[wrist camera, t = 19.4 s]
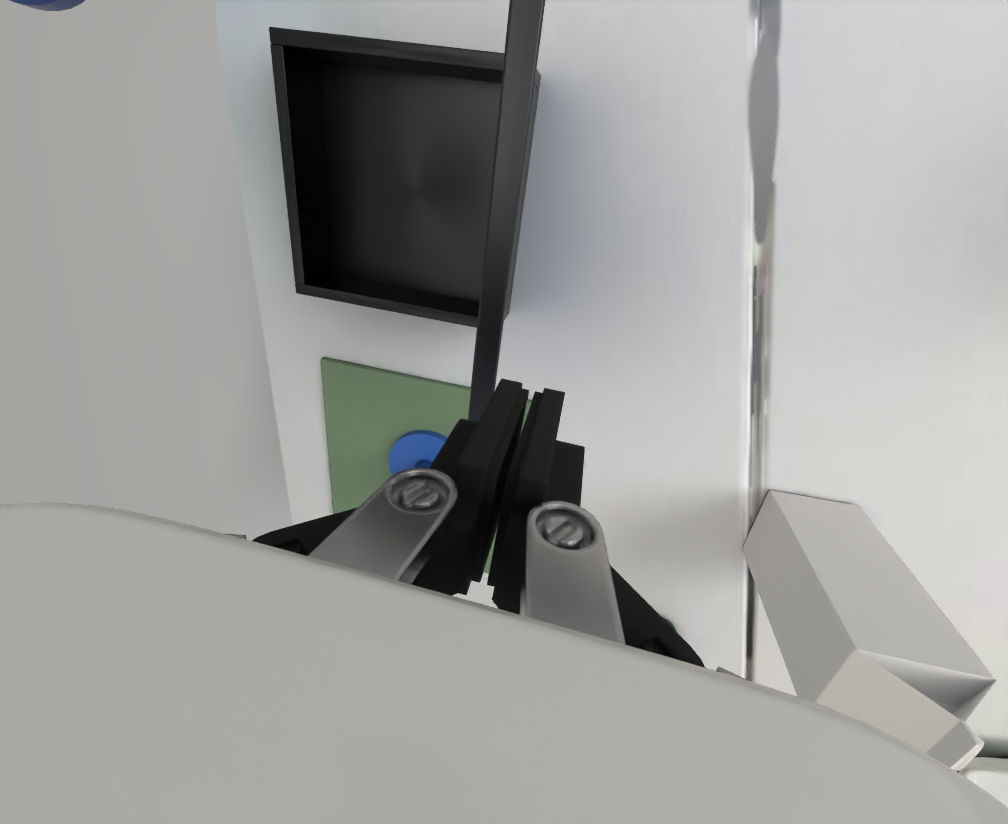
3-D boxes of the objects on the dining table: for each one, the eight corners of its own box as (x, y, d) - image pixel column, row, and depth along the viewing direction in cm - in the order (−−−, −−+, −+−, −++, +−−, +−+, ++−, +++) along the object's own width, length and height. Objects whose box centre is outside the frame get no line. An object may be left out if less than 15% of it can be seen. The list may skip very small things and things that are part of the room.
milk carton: (741, 548, 41) (832, 793, 24) (768, 488, 38) (895, 725, 21) (822, 564, 40) (975, 831, 23) (858, 503, 37) (1066, 765, 20)
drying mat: (337, 530, 51) (334, 533, 51) (323, 356, 41) (320, 359, 40) (519, 577, 49) (518, 581, 48) (555, 405, 38) (555, 408, 38)
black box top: (462, 473, 16) (483, 476, 16) (523, -141, 9) (562, -134, 9) (488, 332, 31) (500, 334, 31) (520, 52, 23) (535, 54, 23)
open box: (330, 281, 37) (295, 293, 33) (315, 48, 30) (268, 26, 25) (508, 314, 35) (496, 331, 31) (541, 74, 28) (529, 55, 24)
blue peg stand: (391, 487, 46) (357, 536, 39) (391, 422, 42) (353, 464, 36) (465, 505, 45) (441, 558, 38) (472, 439, 41) (447, 486, 35)
